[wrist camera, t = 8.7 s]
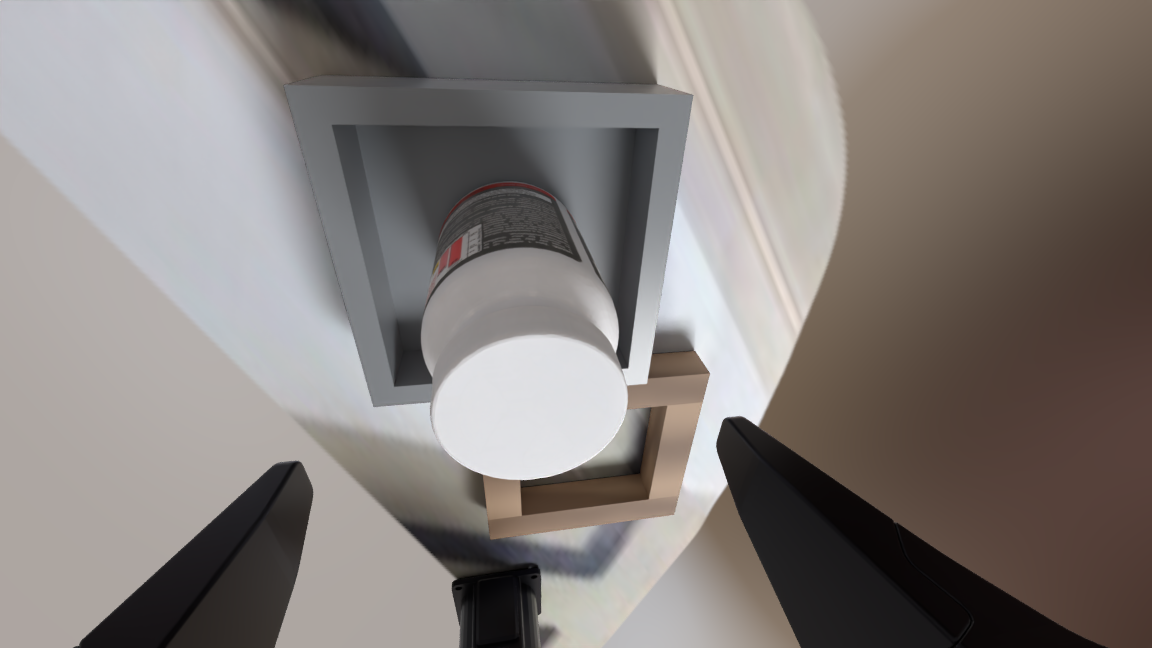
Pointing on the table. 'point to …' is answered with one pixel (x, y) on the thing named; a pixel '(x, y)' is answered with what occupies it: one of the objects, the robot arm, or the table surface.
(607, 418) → the pill bottle
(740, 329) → the table surface
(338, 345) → the table surface
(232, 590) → the robot arm
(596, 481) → the socket block
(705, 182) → the table surface
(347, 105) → the parts tray
